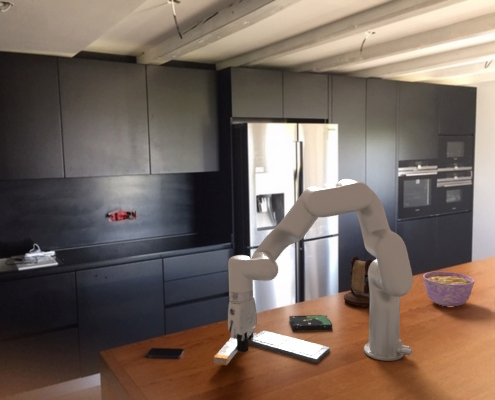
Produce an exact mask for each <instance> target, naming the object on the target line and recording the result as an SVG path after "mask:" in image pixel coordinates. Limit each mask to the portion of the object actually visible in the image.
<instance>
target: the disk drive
mask: <svg viewBox="0 0 495 400" xmlns="http://www.w3.org/2000/svg"><path fill="white" fill-rule="evenodd" d="M288 320H289V324H290V327H291V330H292V332H317V331H333V323H332V321H331V319H329V317H328V315H327V314H326V315H324V314H323V315H322V314H317V315H315V314H310V315H289V319H288Z"/></svg>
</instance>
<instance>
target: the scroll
mask: <svg viewBox="0 0 495 400" xmlns="http://www.w3.org/2000/svg"><path fill="white" fill-rule="evenodd" d="M372 262H373V260H372V258H368V259H366V261H364V260H363V261H362V260H360V257H359V256H357V255H355V256H353V258H352V259H351V260H350V271H349V275H350V276H351V278H350V282H349V283H350V292H347V293H345V294H344V295H343V300H344V303H346V304H347V303H349V304H351V305H356V306H363V309H366V307H367V306H370V290H369V281H368V280H367V281H366V282H365V278H367V279H368V270H369V266H370V264H371V263H372Z"/></svg>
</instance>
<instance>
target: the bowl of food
mask: <svg viewBox="0 0 495 400" xmlns="http://www.w3.org/2000/svg"><path fill="white" fill-rule="evenodd" d="M422 276H423V283H424V287H425V288H424V289H425V291H426V294H427V297H428V298H429V299H430V300H431V301H432V302H433V303H435V304H436V305H438V304H439V305H438V306H440V305H442V306H441V307H443V306H457V307H458V306H459V307H460V306H462V305H464V304H466V303H467V301H469V299H470V296H471V294H472V290H473V287H474V284H475V279H474V277H471V276H469V275H466V274H464V273H459V272H454V271H453V272H452V271H430V272H426V273H424V274H423V275H422Z"/></svg>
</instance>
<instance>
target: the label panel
mask: <svg viewBox="0 0 495 400" xmlns="http://www.w3.org/2000/svg"><path fill="white" fill-rule="evenodd" d="M248 345H251V346H254V347H258V348H261V349H264V350H267V351H271V352H275V353H278V354H281V355H286V356H289V357H292V358H296V359H299V360H303V361H307V362H310V363H313V364H317V363H319V362H320V361H321V360H322V359H324V357H326V356H327V355H328V354H329V353H330V352H331V347H329V346H326V345H322V344H319V343H314V342H310V341H307V340H303V339H299V338H296V337H291V336H287V335H283V334H279V333H277V332H276V333H275V332H272V331H267V330H262V331H260V332H258V333H256V332H254V334H253V335H251V336H249V338H248Z"/></svg>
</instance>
